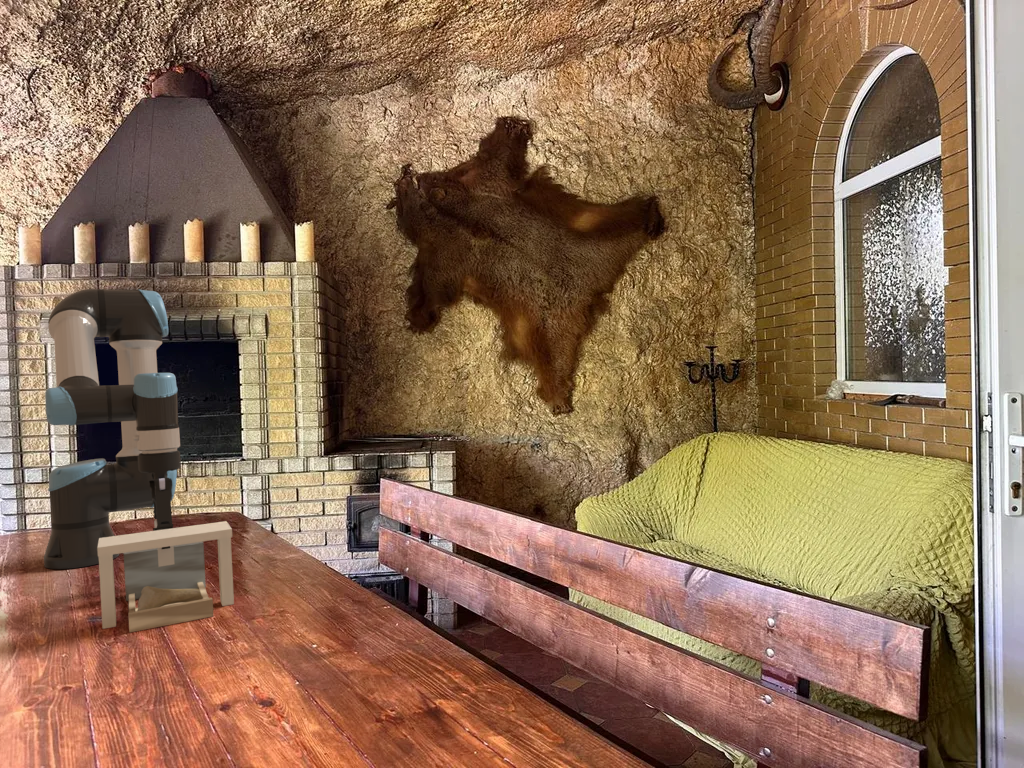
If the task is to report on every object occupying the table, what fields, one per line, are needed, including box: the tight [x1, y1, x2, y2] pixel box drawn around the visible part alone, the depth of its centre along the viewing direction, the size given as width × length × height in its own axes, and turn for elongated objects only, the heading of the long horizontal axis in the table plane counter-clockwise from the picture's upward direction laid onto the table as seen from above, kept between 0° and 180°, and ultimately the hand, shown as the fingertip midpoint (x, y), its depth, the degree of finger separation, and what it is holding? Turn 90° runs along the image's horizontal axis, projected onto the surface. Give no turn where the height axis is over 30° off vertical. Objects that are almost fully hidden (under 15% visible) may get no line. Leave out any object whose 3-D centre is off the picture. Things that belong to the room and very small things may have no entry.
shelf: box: [97, 520, 235, 630], centre depth 124 cm, size 8×21×14 cm, turn 119°
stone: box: [137, 586, 203, 611], centre depth 125 cm, size 11×6×5 cm, turn 142°
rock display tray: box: [123, 541, 214, 633], centre depth 129 cm, size 23×14×9 cm, turn 29°
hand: (164, 557), depth 137 cm, fingers open, 13 cm apart
